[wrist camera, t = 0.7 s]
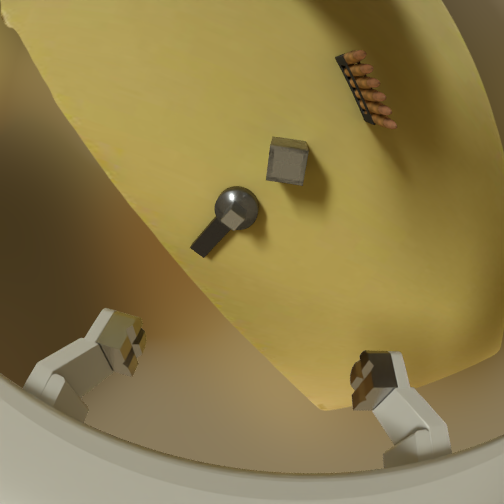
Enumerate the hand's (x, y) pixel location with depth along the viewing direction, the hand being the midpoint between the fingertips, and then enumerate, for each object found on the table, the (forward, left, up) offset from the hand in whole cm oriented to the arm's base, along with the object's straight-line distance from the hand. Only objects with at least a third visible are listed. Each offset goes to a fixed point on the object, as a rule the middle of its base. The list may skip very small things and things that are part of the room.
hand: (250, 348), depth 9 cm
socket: (+3, +1, -36) cm, 36 cm away
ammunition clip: (-10, +10, -36) cm, 39 cm away
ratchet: (+16, -8, -36) cm, 40 cm away
